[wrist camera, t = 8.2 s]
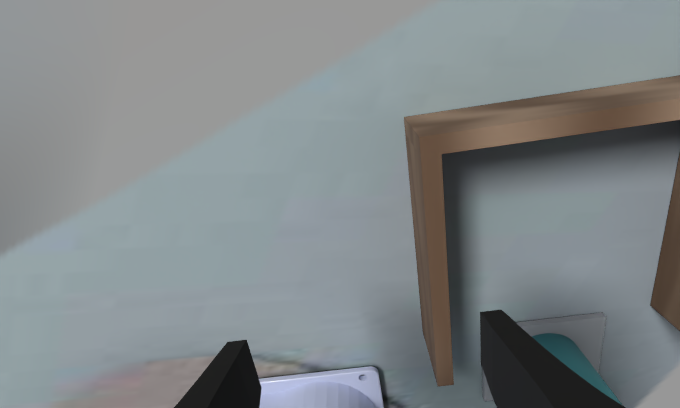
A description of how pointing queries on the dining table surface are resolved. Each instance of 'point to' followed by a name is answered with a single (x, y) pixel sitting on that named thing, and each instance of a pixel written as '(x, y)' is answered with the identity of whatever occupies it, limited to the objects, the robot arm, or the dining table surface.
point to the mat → (577, 328)
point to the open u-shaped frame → (516, 127)
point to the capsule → (573, 360)
